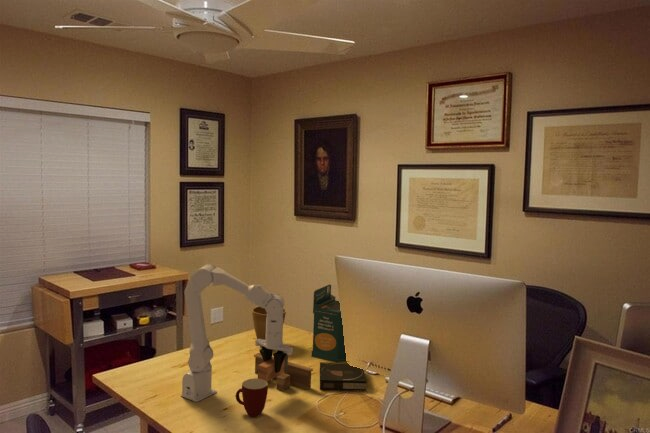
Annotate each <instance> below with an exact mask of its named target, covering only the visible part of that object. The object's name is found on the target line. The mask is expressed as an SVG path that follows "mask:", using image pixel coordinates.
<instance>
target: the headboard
mask: <svg viewBox="0 0 650 433" xmlns="http://www.w3.org/2000/svg"><path fill="white" fill-rule="evenodd" d="M253 358H254V360H255V361H254V363H255V366H254V374H255V375H258V365H259V364H261V363H263V362H264V360H263V358H262V355H261V354H260V352H257V353H255V354H253ZM272 358H274V356H272ZM313 371H314V367H313V368H312V367H308V366H305V365H302V364H299V363H295V362H292V361H288V371H286V372H284V373H283V374H281V375H279V376H277V377H275V378H273V379H271V380H270V381H268V382H267V383H268V384H269V383H271V382H272V380H275V381H276V387H275V388H276V390H278V391H281V392H285V391H286V390H288V389H290V387H291V386H294V387H297V388H301V389H303V390H306V391H308V390H310V389H311V387H312V386H311V384H312V372H313Z"/></svg>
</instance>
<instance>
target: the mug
mask: <svg viewBox="0 0 650 433" xmlns="http://www.w3.org/2000/svg"><path fill="white" fill-rule="evenodd" d="M268 387H269V383H267V381H265V380H263V379H258V378H248V379H246V380H244V381H242V383H241V388H238V390H237V391H236V393H235V399H236V402H237V403H238V404H240V405H242V406H243V407H244V411H245V412H246V413H247V416H248V417H251V418H257V417H260V416H261V414H262V413H263V411H264V409H265V406H266V402H267V397H268V393H269V392H268V390H269V388H268ZM240 394H241V395H242V400H241V397H240Z"/></svg>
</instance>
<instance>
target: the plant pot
mask: <svg viewBox="0 0 650 433" xmlns="http://www.w3.org/2000/svg"><path fill="white" fill-rule="evenodd" d="M251 314H252V322H253V323H252V324H253V327H254V332H255V336H256V340H257V339H263V340H266V318H267V312H266V310H265V308H262V307H260V306H256V307H253V308H252V310H251ZM286 314H287V309H285V307H283V325H285V324H284V323H285V319H286ZM260 347H261V348H262V346H260Z"/></svg>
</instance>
